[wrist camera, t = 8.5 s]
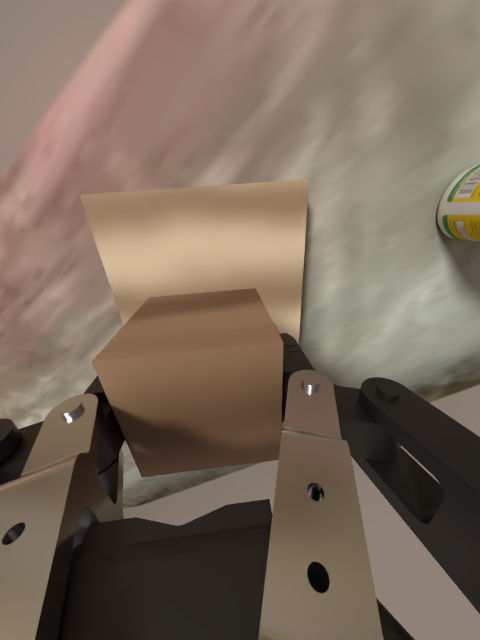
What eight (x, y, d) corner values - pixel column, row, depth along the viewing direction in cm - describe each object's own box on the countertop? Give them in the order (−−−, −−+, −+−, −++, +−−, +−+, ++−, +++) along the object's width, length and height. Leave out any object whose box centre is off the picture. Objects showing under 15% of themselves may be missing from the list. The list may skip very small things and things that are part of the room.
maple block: (103, 198, 16) (79, 194, 13) (294, 185, 16) (308, 179, 14) (151, 357, 22) (141, 377, 19) (288, 343, 23) (297, 361, 20)
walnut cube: (148, 297, 10) (91, 362, 6) (255, 287, 10) (283, 342, 6) (170, 381, 12) (141, 477, 8) (258, 372, 13) (280, 459, 8)
